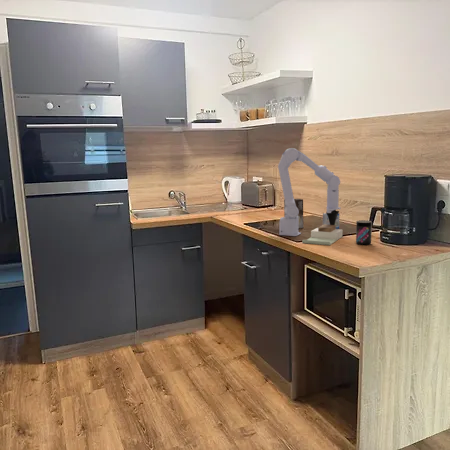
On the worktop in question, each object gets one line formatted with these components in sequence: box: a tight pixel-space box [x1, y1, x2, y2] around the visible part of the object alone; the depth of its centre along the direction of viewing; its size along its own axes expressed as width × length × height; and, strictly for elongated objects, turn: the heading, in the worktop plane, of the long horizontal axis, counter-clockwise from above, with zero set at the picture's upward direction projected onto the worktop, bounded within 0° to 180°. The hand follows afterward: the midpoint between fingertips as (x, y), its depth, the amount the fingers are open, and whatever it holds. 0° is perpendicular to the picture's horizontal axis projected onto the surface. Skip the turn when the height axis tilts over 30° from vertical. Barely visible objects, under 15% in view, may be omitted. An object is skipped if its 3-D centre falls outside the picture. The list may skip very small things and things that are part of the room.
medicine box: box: [322, 212, 340, 229], centre depth 228 cm, size 8×4×9 cm, turn 101°
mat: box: [301, 236, 338, 246], centre depth 198 cm, size 13×12×2 cm
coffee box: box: [283, 198, 304, 229], centre depth 234 cm, size 9×6×16 cm
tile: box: [317, 224, 336, 232], centre depth 207 cm, size 6×9×2 cm, turn 150°
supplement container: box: [355, 219, 373, 246], centre depth 190 cm, size 7×7×10 cm
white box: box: [310, 227, 343, 241], centre depth 207 cm, size 13×10×4 cm
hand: (332, 225), depth 215 cm, fingers closed
